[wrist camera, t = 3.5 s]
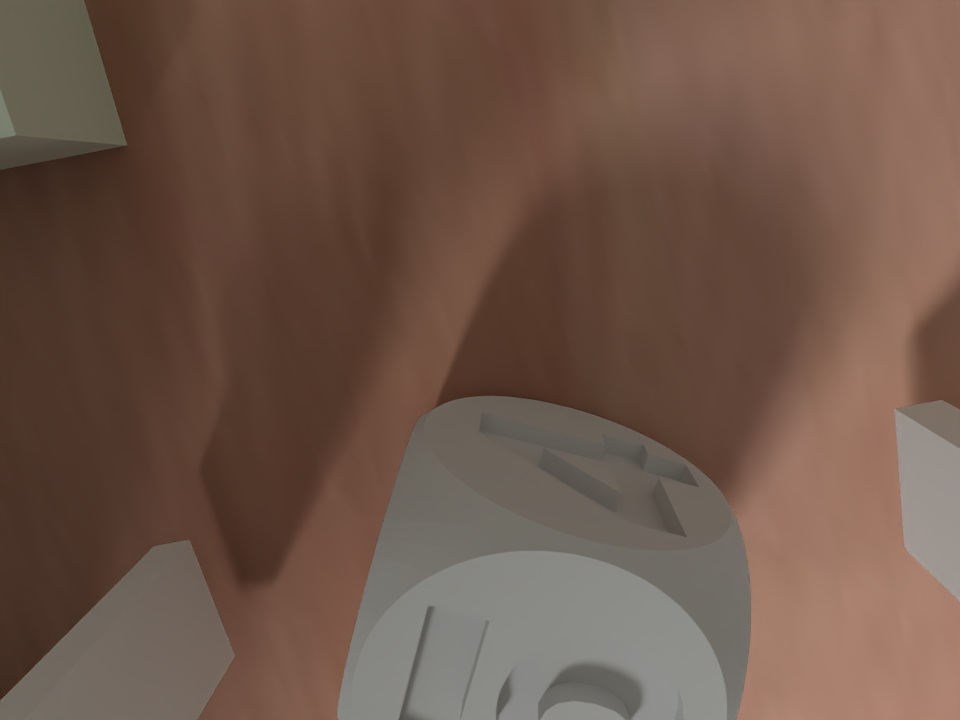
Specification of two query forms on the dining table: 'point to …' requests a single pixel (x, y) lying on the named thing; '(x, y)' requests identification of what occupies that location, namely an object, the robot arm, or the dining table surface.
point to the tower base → (52, 84)
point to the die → (549, 576)
